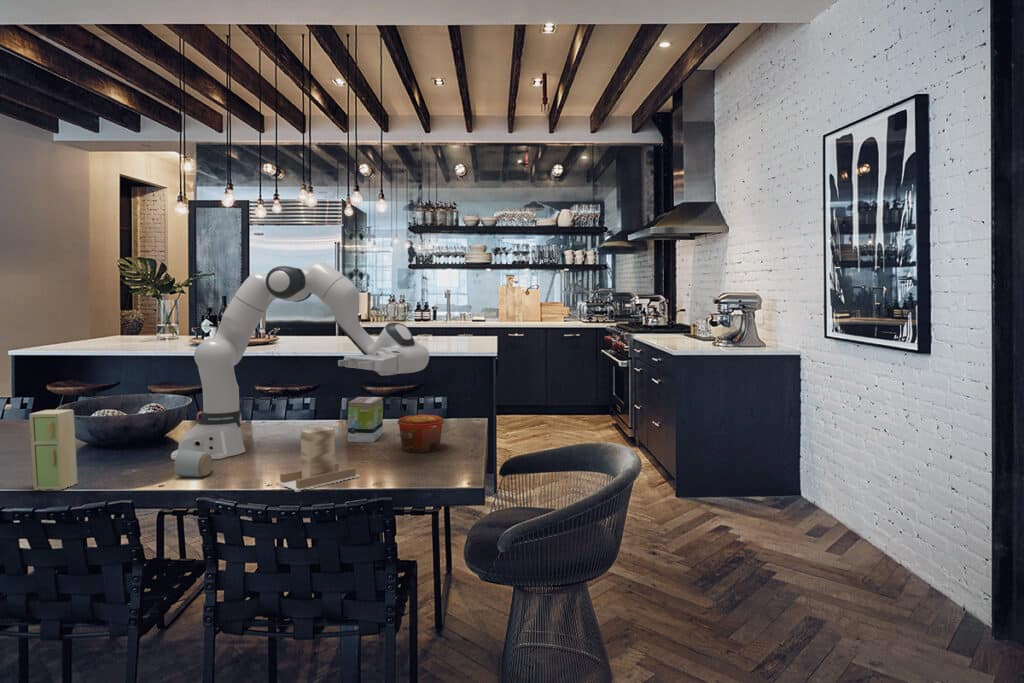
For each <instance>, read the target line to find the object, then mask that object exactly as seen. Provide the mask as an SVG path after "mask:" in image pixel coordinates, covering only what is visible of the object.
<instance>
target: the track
mask: <svg viewBox="0 0 1024 683" xmlns="http://www.w3.org/2000/svg"><path fill="white" fill-rule="evenodd" d="M356 472H357V468H356V467H349V468H344V469H340V462H336V461H335V471H334V472H329V473H324V474H320V475H315V476H311V477H306V478H302V469H297V470H294V471H288V472H284V473H279V475H280V476H279V477H280V481H276V482H275V484H276V483H277V484H280V485H283V486H285V487H288V488H291V489H293V490H294V491H293V492H295V493H299V492H302V491H301V490H303V489H306V488H311V487H316V486H321V485H325V486H327V485H326V484H329V485H332V484H331V483H334V484H337V483H336V482H338V483H341V482H340V481H342V482H344V481H343V480H347V481H349V480H348V479H351V480H353V479H352V478H355V479H357V478H356V477H359V476H360V477H361V475H360V474H357V473H356ZM360 477H359V478H360ZM277 484H276V485H277ZM285 487H284V488H285ZM321 487H322V486H321ZM316 488H317V487H316Z"/></svg>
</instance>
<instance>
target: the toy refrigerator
mask: <svg viewBox="0 0 1024 683" xmlns="http://www.w3.org/2000/svg"><path fill="white" fill-rule="evenodd" d="M28 419H29V435H30V437H29V438H30V449H31V450H30V451H31V453H30V454H31V468H32V470H31V472H32V486H33V487H32V488H33V490H34V489H53V490H52V491H63V490H62V489H64V490H66V489H68V488H67V487H69V488H71V487H74V486H75V484H76V485H77V484H78V468H77V467H78V464H77V448H76V447H77V446H76V431H75V430H76V428H75V411H74V409H44V410H40V411H36V412H31V413H29V414H28ZM70 486H71V487H70ZM65 488H66V489H65Z"/></svg>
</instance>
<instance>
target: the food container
mask: <svg viewBox="0 0 1024 683" xmlns="http://www.w3.org/2000/svg"><path fill="white" fill-rule="evenodd" d="M396 422H397V425H398V427H399V434H400V442H401V450H403V451H404V452H408V453H416V454H417V453H419V454H420V453H421V452H423V453H430V451H432V452H435V450H436V451H438V450H440V447H441V440H442V439H441V438H442V431H443V430H442V428H443V424H444V423H445V420H444V419H443V417H441V416H440V415H435V414H431V415H429V414H417V415H405V416H403V417H399V419H398V420H397V421H396ZM437 449H438V450H437Z"/></svg>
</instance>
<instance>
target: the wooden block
mask: <svg viewBox="0 0 1024 683" xmlns="http://www.w3.org/2000/svg"><path fill="white" fill-rule="evenodd" d="M335 434H336V433H335V428H332V427H328V426H324V427H317V428H312V429H311V428H310V429H306V430H301V431H300V442H301V443H300V450H301V451H300V452H301V455H300V456H301V457H300V458H301V460H300V461H301V462H300V464H301V466H300V467H301V470H302V478H306V477H311V476H315V475H320V474H324V473H329V472H334V471H335V463H336V438H335V437H336V436H335Z"/></svg>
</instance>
